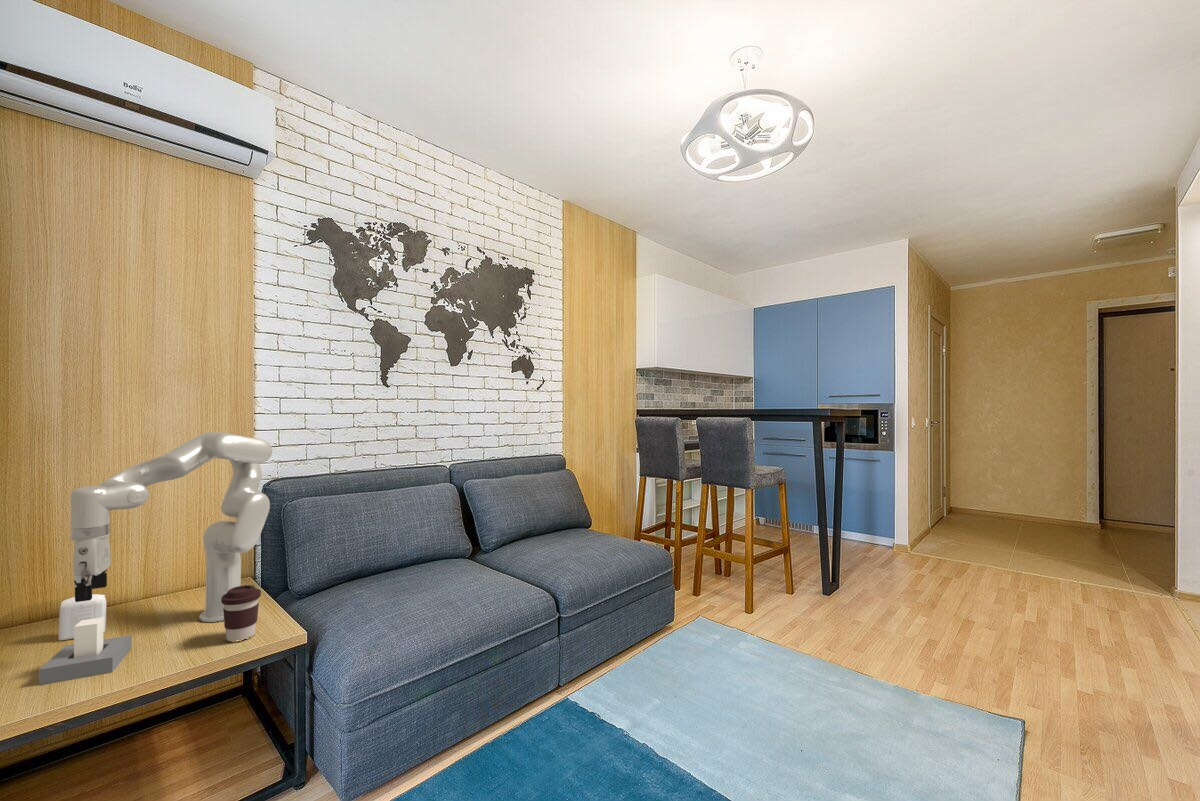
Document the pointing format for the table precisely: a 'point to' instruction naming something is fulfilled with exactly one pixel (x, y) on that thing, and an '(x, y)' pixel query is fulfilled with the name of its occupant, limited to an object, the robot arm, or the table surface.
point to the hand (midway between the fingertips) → (91, 594)
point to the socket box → (84, 661)
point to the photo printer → (80, 614)
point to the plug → (88, 637)
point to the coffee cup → (240, 612)
